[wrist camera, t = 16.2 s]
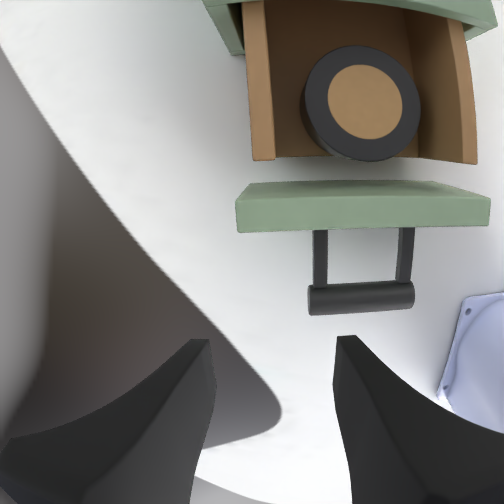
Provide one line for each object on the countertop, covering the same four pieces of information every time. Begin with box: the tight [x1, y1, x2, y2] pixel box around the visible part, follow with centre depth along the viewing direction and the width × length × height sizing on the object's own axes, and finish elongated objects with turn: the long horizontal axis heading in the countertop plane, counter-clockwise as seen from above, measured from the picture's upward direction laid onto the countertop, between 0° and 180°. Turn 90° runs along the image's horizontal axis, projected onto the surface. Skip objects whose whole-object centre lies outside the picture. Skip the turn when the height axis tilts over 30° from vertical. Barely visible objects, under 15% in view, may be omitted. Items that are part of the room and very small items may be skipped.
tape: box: [300, 45, 421, 162], centre depth 12 cm, size 5×5×3 cm
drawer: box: [235, 0, 491, 316], centre depth 12 cm, size 17×10×6 cm, turn 4°
